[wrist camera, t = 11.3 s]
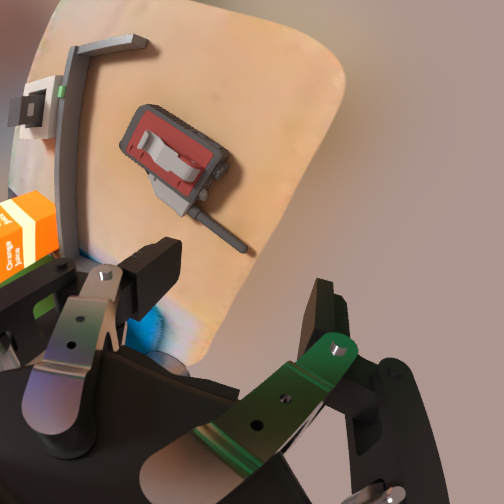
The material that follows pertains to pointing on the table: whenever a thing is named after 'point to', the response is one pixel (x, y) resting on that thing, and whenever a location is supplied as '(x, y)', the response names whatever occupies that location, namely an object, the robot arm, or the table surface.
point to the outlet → (51, 107)
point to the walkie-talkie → (177, 163)
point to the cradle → (76, 140)
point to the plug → (26, 110)
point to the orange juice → (26, 232)
